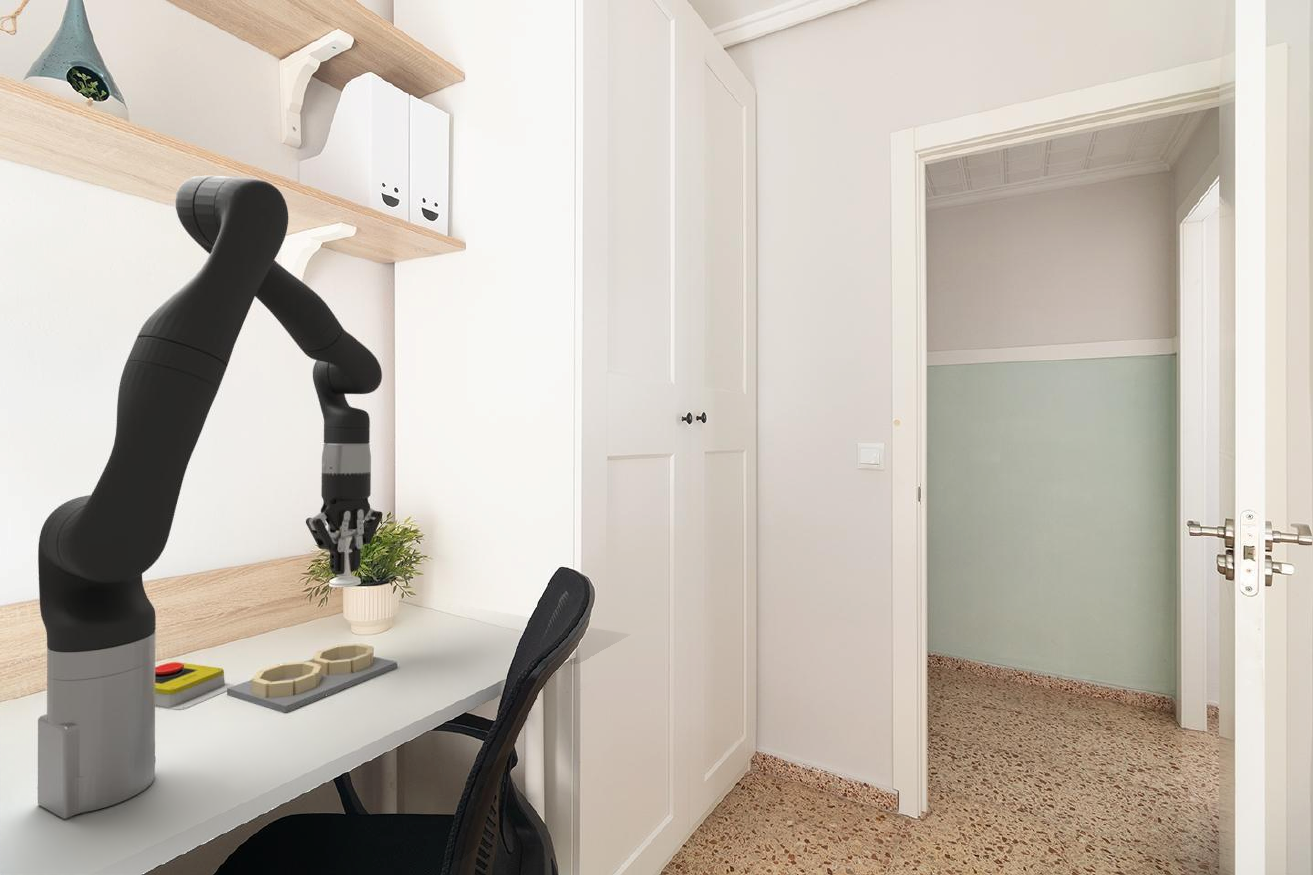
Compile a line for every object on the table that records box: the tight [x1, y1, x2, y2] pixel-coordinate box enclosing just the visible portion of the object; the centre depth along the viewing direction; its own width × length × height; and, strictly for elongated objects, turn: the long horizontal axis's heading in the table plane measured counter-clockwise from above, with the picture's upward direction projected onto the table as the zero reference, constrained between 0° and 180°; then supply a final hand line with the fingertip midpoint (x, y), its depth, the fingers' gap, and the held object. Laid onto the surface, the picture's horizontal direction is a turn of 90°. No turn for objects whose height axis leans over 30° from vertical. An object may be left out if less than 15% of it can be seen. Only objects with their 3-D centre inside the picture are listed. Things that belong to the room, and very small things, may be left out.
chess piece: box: [328, 529, 362, 589], centre depth 108 cm, size 5×5×10 cm
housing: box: [226, 643, 398, 714], centre depth 104 cm, size 20×14×3 cm
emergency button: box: [155, 661, 236, 711], centre depth 99 cm, size 9×4×15 cm
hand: (345, 571), depth 108 cm, fingers closed on chess piece
